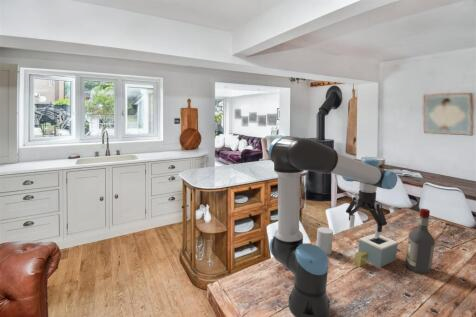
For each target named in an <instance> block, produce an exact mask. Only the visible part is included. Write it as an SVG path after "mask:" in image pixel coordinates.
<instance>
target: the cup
mask: <svg viewBox="0 0 476 317" xmlns="http://www.w3.org/2000/svg"><path fill="white" fill-rule="evenodd" d="M333 237H334V230H333V229H331V228H330V227H325V226H321V227H318V228H317V230H316V244H315V245H316V246H318V247H320V248H321V249H323V250H324V251H325V253H326V254H327V256H328V255H331V254H332V252H333V251H332V250H333V249H332V248H333V240H334V238H333Z"/></svg>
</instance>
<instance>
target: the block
mask: <svg viewBox="0 0 476 317" xmlns="http://www.w3.org/2000/svg"><path fill="white" fill-rule="evenodd" d="M366 265H368V252H365V251H360V252H359V251H357V252H355V256H354V266H357V267H358V268H361V267H364V266H366Z"/></svg>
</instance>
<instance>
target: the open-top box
mask: <svg viewBox="0 0 476 317" xmlns="http://www.w3.org/2000/svg"><path fill="white" fill-rule="evenodd" d="M398 243H399V242H398V241H396V240H393V239H391V238H389V237H387V236H384V235H382V234H380V237H379V238H377V239H376V238H375V233H372V234H369V235H366V236H362V237H361V238H359V243H358V252H360V251H365V252H368V262H369V263H370V264H372V265H374V266H376V267H378V268H382V267H384V266H386V265H389V264H391V263H393V262H394V261H396V260H397V253H398V246H399V244H398Z"/></svg>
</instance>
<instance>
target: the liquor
mask: <svg viewBox="0 0 476 317" xmlns="http://www.w3.org/2000/svg"><path fill="white" fill-rule="evenodd" d="M419 211H420V212H419V219H418V225H417V228H415V229H413V230H412V231H411V230H410V232H409V233H408V238H407V239H408V240H407V245H406V255H405V265H406V266H407V268H408V269H409V270H410V271H412V272H414V273H419V274H425V275H427V274H429V273H430V272H432V265H433V260H434V259H433V258H434V250H435V243H436V240H435V238H434V236H433V235H432V234H431V233H430V232H429V229H428V227H429V218H430V214H431V213H430V209H427V208H420V210H419Z"/></svg>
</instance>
